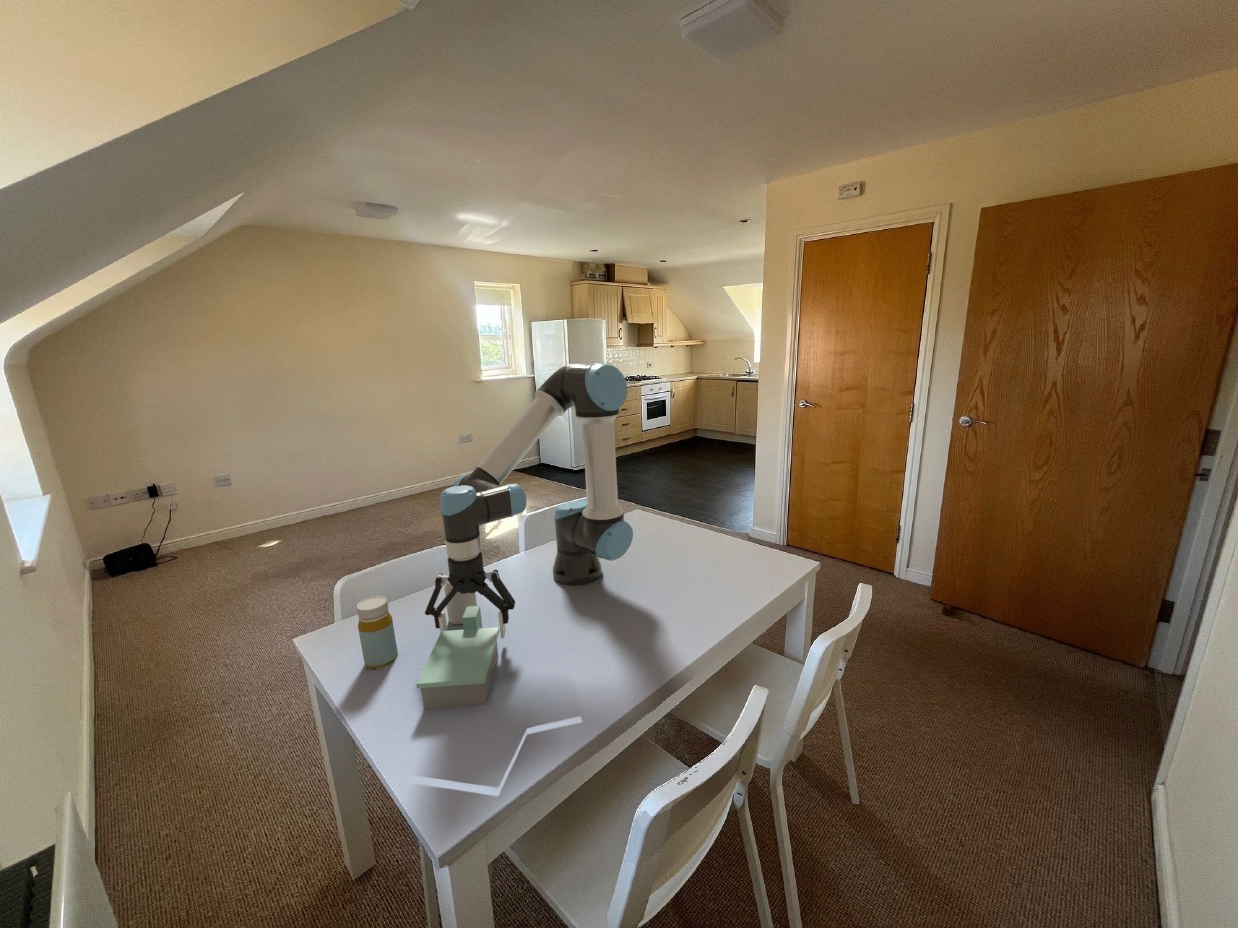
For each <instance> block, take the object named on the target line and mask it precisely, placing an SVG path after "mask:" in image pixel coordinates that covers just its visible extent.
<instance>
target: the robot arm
mask: <svg viewBox="0 0 1238 928" xmlns="http://www.w3.org/2000/svg"><path fill="white" fill-rule="evenodd" d="M627 397H628V384H627V379H626V378H625V375H624V374H623V373H622V371H620V370H619V368H617V367H616V366H614V365H611V364H609V363H607V364H606V363H601V362H595V363H594V362H592V363H589V362H587V363H586V362H585V363H583V362H582V363H580V362H570V363H568V364H566V365H564V366H561V367H560V368H559V369H557V370H556V371H554V372H553V374H551V375H550V376H549V377H548V378H547V379H546V380H544V382H543V383H542V384H541V386H539V388H538V389H537V390H536V391H535V392H534V400H533V401H532V402H531V403H530V404H529V405H528V407H527V408H526V409H525V410H524V411H523V412H522V413H521V415H520V416H518V418H517V419H516V420H515V422H514V423H513V424H512V425H511V427H509V429H508V430H506V432H505V433H504V435H503V436H502V437H501V438H500V439H499V440H498V441H497V443H496V444H495V445H494V446H493V447H492V448H491V450H490V451H489V452H488V453H487V454H486V455H485V457H484V458H483V459H482V460H481V462H480V463H479V464H478V465H477V466H476V467H475V469H474V470H473V471H472V472H471V473H470V474H469V473H468V474H463V475H461V476H459V477H458V478H457V479H456V480H455V482H454V484H453V486H451V487H448V488H445V489H444V490H442V492H441V493H440V500H439V501H440V514H441V517H442V524H443V525H442V526H443V532H444V539H445V548H446V549H445V551H446V555H447V564H448V565H447V566H448V573H449V575H448V574H447V575H445V574H443V573H442V572H440V573H438V575H437V576H436V578H435V583H434V584H435V587H434V590H433V591H432V594H431V597H430V599H429V602H428V603H427V606H426V608H425V611H424V614H425V616H432V617H433V618H434V619H433V620H434V625H435V628H436V629H439V631H440V633H441V631H448V625H447V618H446V611H444V609H445V608H447V604H448V603H449V602H450V600H451V599H452V598H453V597H454V596H455V594H456V593H457V592H459V593H461V594H465V593H475V594H476V593H478V594H480V595H481V596H484V597H485V598H486V599H487V600H488V601H489V602H490V603H491V604H492V605H494V606H495V607H496V608H497V609H498V613H497V614H498V623H499V634H500V639H505V636H506V632H507V631H506V624H508V623H509V619H510V615H509V614H510V613H509V611H510V610H514V608H515V605H516V600H515V599H514V596H512V594H511V593H510V591H509V590H508V588H507V586H506V585H505V583H504V582H503V581H502V579H501V578H500V574H499V570H497V569H493V571H490V572H486V571H485V570H484V559H483V553H482V541H481V532H480V526H483V525H486V524H489V523H493V522H496V521H500V520H504V519H507V518H512V517H514V516H517V515H520V514H522V513H524V511H525V509H526V508H527V503H528V502H527V496H526V493H525V490H524V489H523V487H522V486H521V485H520V484H519V483H507V484H505V485H501V484H503V482H504V481H505V480H506V479H507V478H508V476H509V475H510V474H511V472H512V471H513V470H514V469H515V468H516V466H517V465H519V463H520V462H521V460H522V459H523V458H524V457H525V455H526V454H527V453H528V452H529V450H530V449H531V448H532V447H533V446H534V445H535V443H536V442H537V441H538V440H539V439H540V437H541V436H542V435H543V434H544V433H545V431H546V430H547V429H548V427H549V426H550V425H551V424H552V423H553V422H554V421H555V419H556V418H557V417H561V416H563V415H564V414H565V412H567V411H568V410H569V409H570V408H572V407H574V409H575V417H576V418H577V420H579V421H580V423H581V427H582V443H583V459H584V472H585V473H584V475H585V489H586V500H572V501H567V502H565V503H562V504H559V505H558V506H556V508H555V509H554V518H553V519H554V524H555V528H554V529H555V537H556V538H555V539H556V556H555V559H554V563H553V566H552V578H553V579H554V580H555V581H556V582H558V583H560V584H564V585H567V586H568V585H569V586H579V585H586V584H590V583H592V582H594V581H596V580H598V579H599V578H600V577H601V575H602V563H601V561H600V559H603V560H606V561H610V562H611V561H616V560H618V559H620V558H622V557H623V556H624V555H625V554H626V553H627V551H628V550H629V549H630V547H631V545H632V542H633V539H634V531H633V527H632V526H631V525H630V524H629V523H628V522H626V521H625V513H624V508H623V507H622V506H621V505H619V501H618V500H619V499H618V480H617V476H618V475H617V459H616V458H617V457H616V438H615V437H616V435H615V433H616V432H615V420H616V418H618V416H619V415H620V408H621V407H622V406H623V405H624V404H625V400H626V399H627ZM486 580H489V582H490V583H492V585H493V587H494V588H495V590H496V591H497V593H496V592H495V591H494V590H493V589H492V588H491V587H489V585H488V583H487V582H486ZM447 581H448V582H449V583H450V584H451V585H452V586H453V587H452V589H451V590H450V591H449V593H448V594H447V595H446V597H445V596H444V598H443V599H442V600H441V602H440V603H439V604H438V605H437V607H435V604H436V602H437V601H438V598H439V595H440V593H441V590H442V588H443V586H444V585H445V584H446V582H447ZM498 594H499V595H498Z"/></svg>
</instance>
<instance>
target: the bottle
mask: <svg viewBox="0 0 1238 928" xmlns="http://www.w3.org/2000/svg"><path fill="white" fill-rule="evenodd" d="M356 612H357V616H358V623H357V628H358V635H359V640H360V646H361V651H362V652H361V653H362V657H363V658H362V659H363V663H364V666H365V667H366V668H368V669H370V670H374V671H375V670H376V669H378V668H382V667H386V666H387V665H390V664H392V663H393V662H394V661H395V660H396V659H397V658H398V656H399V655H398V645H397V640H396V635H395V628H394V622H393V616H392V615H391V613H390V610H389V603H388V598H386V596H382V595H377V596H376V595H375V596H370V597H367V598H364V599H363V600H361V601H359V603H357V605H356Z"/></svg>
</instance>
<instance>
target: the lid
mask: <svg viewBox="0 0 1238 928" xmlns="http://www.w3.org/2000/svg"><path fill="white" fill-rule="evenodd" d="M462 619H463V625H462V626H463V628H462V629H456V630H455V629H453V630H451V629H450V630H447V631H441V633H440V634H439V635H438V638H437V640H436V642H435V644H434V646H433V648H432V650H431V652H430V654H429V656H428V659H427V660H426V662H425V665H424V667H423V669H422V671H421V674H420V675H419V677H418V680H417V681H416V683H415V686H416V689H421V688H429V687H442V686H455V685H468V684H481V683H485V681H486V677H487V673H488V670H489V666H490V663H491V659H492V655H493V652H494V648H495V645H496V641H497V640H498V636H499V634H500V626H498V627H497V626H496V627H494V626H493V627H484V628H483V622H482V611H481V605H477V606H467V608H466V610H465V613H464V615H463V618H462ZM497 642H498V641H497Z"/></svg>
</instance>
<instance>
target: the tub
mask: <svg viewBox="0 0 1238 928" xmlns="http://www.w3.org/2000/svg"><path fill="white" fill-rule="evenodd" d="M498 649H499V648H498V641H496V645H495V648H494V652H493V655H492V659H491V663H490V666H489V670H488V673H487V677H486V681H485V683H481V684H468V685H455V686H442V687H429V688H420V693H421V701H422V708H423V710H431V709H443V708H454V707H456V708H457V707H469V706H480V705H486V703H487V701H488V699H487V698H488V694H489V691H490V688H491V683H492V679H493V676H494V672H495V668H496V665H497V661H498V657H499V650H498Z"/></svg>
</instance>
